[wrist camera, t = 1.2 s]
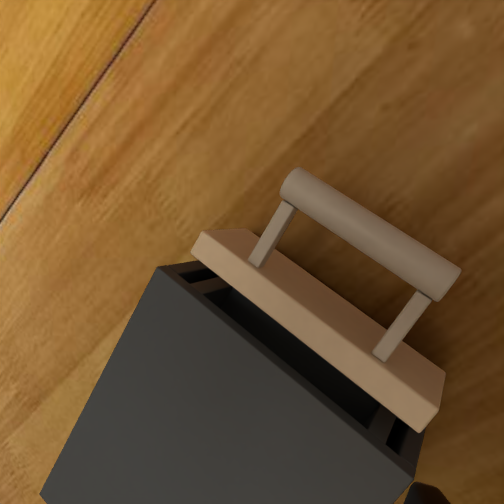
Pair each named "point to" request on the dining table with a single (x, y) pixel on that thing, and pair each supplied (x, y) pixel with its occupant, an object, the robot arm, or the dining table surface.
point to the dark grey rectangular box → (217, 419)
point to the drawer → (332, 306)
